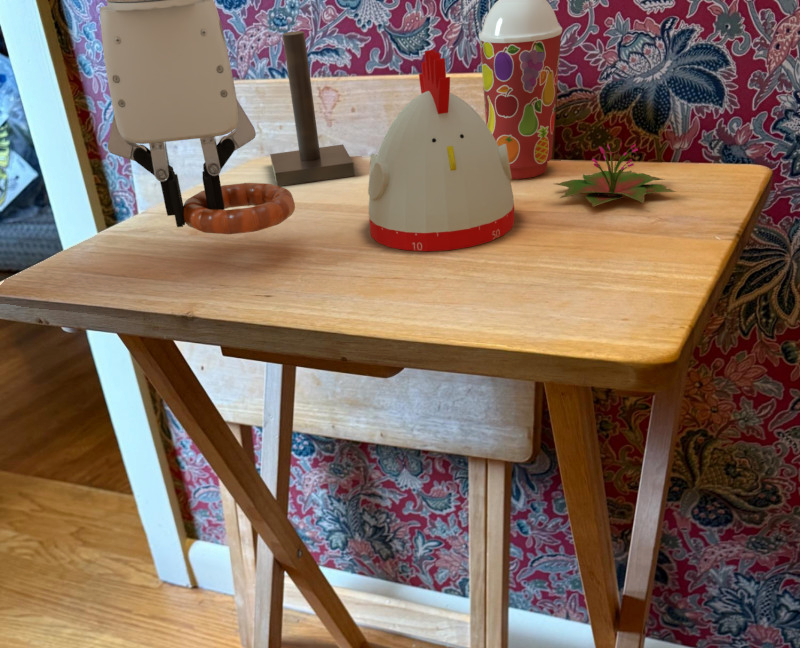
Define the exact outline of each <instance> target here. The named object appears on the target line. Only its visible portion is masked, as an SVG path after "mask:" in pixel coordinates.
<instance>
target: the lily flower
mask: <svg viewBox="0 0 800 648" xmlns="http://www.w3.org/2000/svg"><path fill="white" fill-rule="evenodd" d="M622 144H623V141H621V142H620V144H619V148H618V151H617V155H616V158H615V161H616V162H615V163H614V162H613V161H614V160H613V153H612V151H611V148H610V145H609V143H607V149H608V151H609V156H608V154H607V153H606V152H605V149H604V148H603V147H602V146H598V149H599V151H600V153H601V154H602V155H603V159H604V161H605V163H606V166H607V167H606V168H607V170H604V169H603V168H602V166H601V164H600V163H599V161H598V160H597V159H595V157H594V158H592V159H591V160H592V162H593V167H595V168H598V169H599V172H598V171H597V172H595V173H591V174H584V173H583V174H582V178H583V179H569V180H565V181H562V182H560V183H558V182H557V183H554V185H557V186H560V187H566V188H567V190H566V191H565V192H564V194H563V195H561V196H560V197H559V199H562V198H566V197H570V196H575V195H579V194H584V193H585V194H586V195H585V197H584V198H586V200H587V201H588V202H589V203H590V204H591V206H592V207H593V208H594V207H596V206H599V205H603V204H604V203H607V202H611V201H614V200H615V201H616V200H619V199H621V198H624V196H626V197H628V198H631V199H632V200H635V201H638V202H640V203H642V204H645V198H646V197H645V195H646V194H647V195H648V194H652V193H677V192H678V191H676V190H673V189H671V188H668V187H667V186H665V185H662V184H658V183H651V182H653V181H663V180H665V179H664V178H660V177H657V176H651V174H647V173H644V172H642V173H641V172H639V173H637V172H634V171H632V170H631V169H630V170H626V169H627V168H630V167H633V166H635V163H634V162H633V158H631V159H628V160H627V161H626V163H625V164H624V165H622V166H621V167H620V165H621V164H622V163H623V162H624V161H625V160H626V159H627V158H628V157H629V156H630V155H631V154H634V153H635V152H636V151H637V152H638V151H639V148H638V147H637V148H635V147H636V146H637V144H636V143H635V144H633V145H631V146H630V147H629V148H628V150H627V151H626V152H624V153H623V154H622V155H621V156H620V157H619V152H620V148H621V147H622ZM633 148H634V149H633ZM630 150H631V151H630ZM609 158H610V159H609ZM617 159H618V160H617ZM619 167H620V169H619ZM625 170H626V171H625ZM649 183H650V184H649Z"/></svg>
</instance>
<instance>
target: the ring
mask: <svg viewBox="0 0 800 648" xmlns="http://www.w3.org/2000/svg"><path fill="white" fill-rule="evenodd" d="M221 189H222V195H223V201H224V208H225V210H217V209H208V206H207V201H206V195H205V190H201V191H199V192H198V193H195V194H194V195H192V196H191V197H189V198H188V199H185V202H184V203H183V217H184V221H185V225H187V226H188V227H190V228H192V229H195V230H196V231H199V232H202V233H205V234H215V235H216V234H217V235H236V234H237V235H238V234H247V233H255V232H259V231H262V230H265V229H269V228H272V227H275V226H279V225H280V224H282V223H283V222H285V221H286V220H287V219H288V218H290V217H292V215H294V212H295V209H296V204H295V203H296V202H295V200H294V197H293V194H292V192H291V191H290V190H289V189H287V188H286V187H283V186H277V184H273V183H264V182H263V183H261V182H243V183H231V184H223V185H221ZM248 206H251V207H248ZM240 207H241V208H240ZM229 208H234V209H229Z"/></svg>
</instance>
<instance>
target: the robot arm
mask: <svg viewBox="0 0 800 648" xmlns="http://www.w3.org/2000/svg"><path fill="white" fill-rule="evenodd" d="M99 18H100V33H101V42H102V43H101V44H102V52H103V59H104V66H105V70H106V71H105V72H106V77H107V82H108V83H107V84H108V90H109V95H110V100H111V105H112V110H113V117H112V122H111V126H110V132H109V138H108V142H107V151H108V152H109V153H110V154H112V155H115V156H118V157H121V158H123V159H127V160H129V161H134V162H135V163H136V164H138V165H140V166H141V167H142V168H143V169H145V170H146V171H148V173H151V175H153V176H154V177H155V179H156V180H157V181H159V183H160V187H161V192H162V197H163V203H164V206H165V211H166V215H167V217H171V216H174V219H175V223H176V228H183V227H184V226H185V225H186V223H185V221H184V217H183V206H184V203H183V202H184V201H183V197H182V192H181V186H180V183H179V182H180V181H179V177H178V174H177V173H175V171H174V167H173V166H171V164H170V160H169V153H168V148H167V142H177V141H187V140H197V139H198V140H199V141H200V146H201V150H202V155H203V159H204V163H202V164H203V165H202V167H203V169H202V170H203V171H202V173H201V174H202V183H203V189H204V190H205V195H206V201H207V206H208V209H217V210H226V209H225V208H224V201H223V195H222V189H221V186H222V185H221V178H220V173H221V170H222V169H223V167H224V166H225V165H226V163H227V162H228V160H230V158H231V156H232V155H233V154H234V152H236V150H238V149H241V148H242V147H244V146H245V145H247V144H249V143H250V142H251V141H253V140H254V139H255V138H256V135H257V134H256V128H255V126H254V125H253V123H252V122H251V120H250V118H249V117H248V115H247V114H246V111H245V110H244V109H243V107H242V105H241V104H240V101H239V100H238V98H237V92H236V87H235V83H234V82H235V80H234V76H233V71H232V66H231V61H230V56H229V51H228V46H227V41H226V37H225V34H224V29H223V25H222V22H221V18H220V15H219V12H218V9H217V6H216V2H215V0H106V5H104V6H101V7H100V8H99ZM221 136H222V137H221ZM216 137H221V138H220V140H219V141H218V143H217V139H216ZM145 144H148V145H149V148H148V147H147V146H146V145H145ZM204 190H203V191H204Z"/></svg>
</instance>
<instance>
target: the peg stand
mask: <svg viewBox="0 0 800 648" xmlns="http://www.w3.org/2000/svg"><path fill="white" fill-rule="evenodd" d="M282 41H283V42H282V43H283V47H284V55H285V56H284V57H285V61H286V68H287V76H288V84H289V89H290V97H291V105H292V109H293V110H292V112H293V118H294V126H295V132H296V139H297V146H298V147H297V148H298V149H297V150H291V151H283V152H277V153H270V154H269V157H270V162H271V169H272V172H273V175H274V180H275V183H276V184H275V185H276V186H279V187H285V186H291V185H299V184H306V183H314V182H321V181H327V180H335V179H341V178H348V177H355V176H356V175H355V165H354V162H353V160H352V158H351V156H350V154H349V152H348V150H347V149H346V148H345V146H344V144H336V145H328V146H320V142H319V134H318V126H317V119H316V118H317V117H316V112H315V104H314V97H313V96H314V95H313V89H312V81H311V80H312V79H311V73H310V65H309V57H308V49H307V42H306V35H305V31H302V30H298V31H297V30H296V31H287V32H284V33H282Z"/></svg>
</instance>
